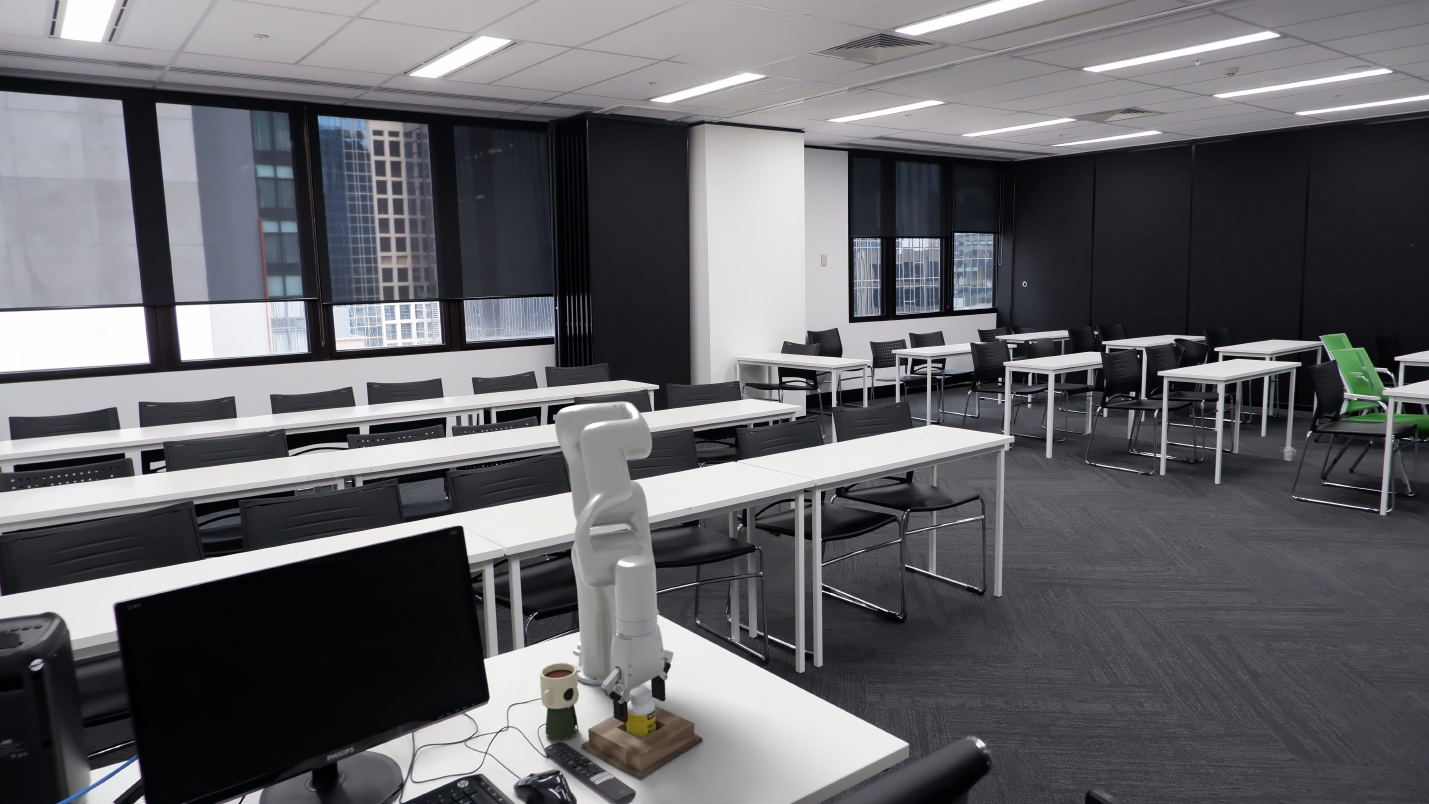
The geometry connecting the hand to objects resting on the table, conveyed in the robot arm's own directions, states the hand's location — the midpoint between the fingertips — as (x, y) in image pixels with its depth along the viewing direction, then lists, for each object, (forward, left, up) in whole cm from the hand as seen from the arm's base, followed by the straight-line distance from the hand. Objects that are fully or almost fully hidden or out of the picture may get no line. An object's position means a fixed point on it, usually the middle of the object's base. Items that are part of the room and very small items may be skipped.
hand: (640, 709), depth 160 cm
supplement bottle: (0, 0, -6) cm, 6 cm away
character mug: (-15, -7, -7) cm, 18 cm away
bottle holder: (0, 0, -7) cm, 7 cm away
